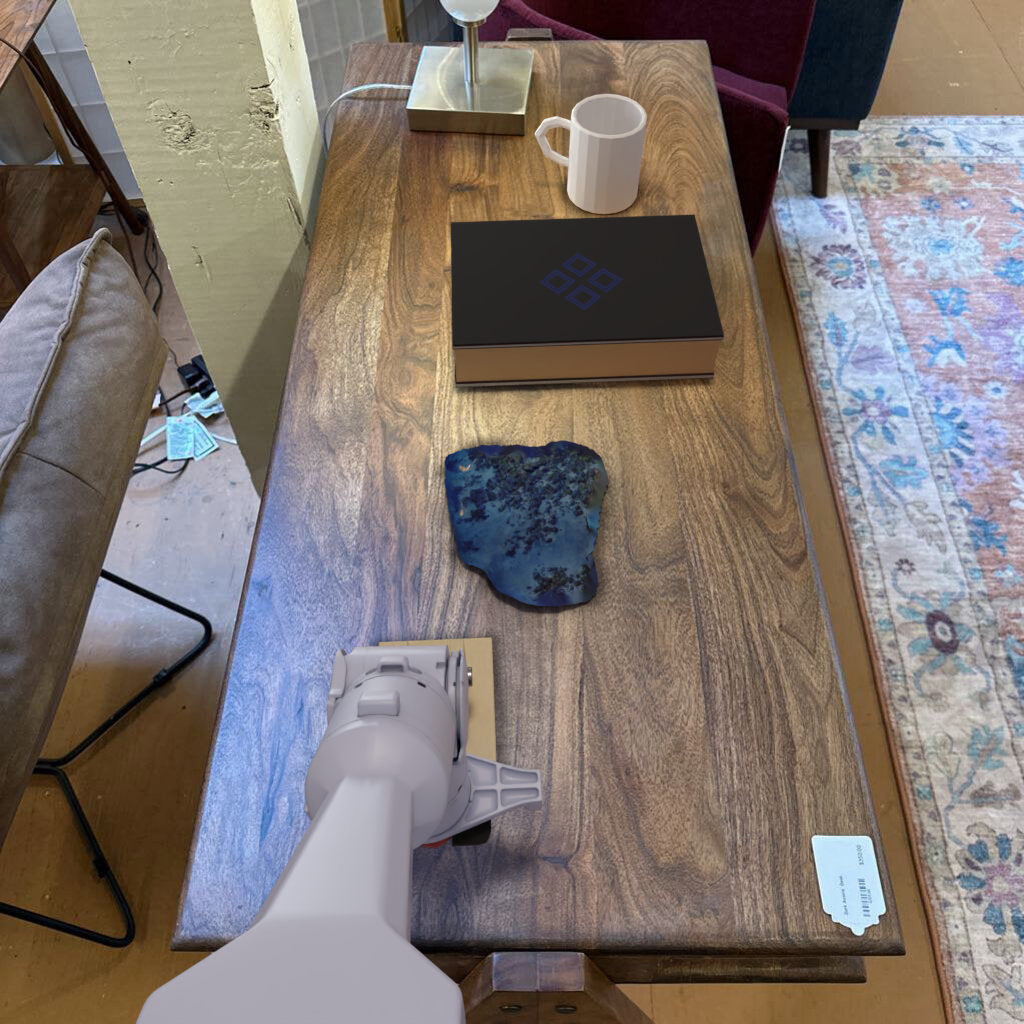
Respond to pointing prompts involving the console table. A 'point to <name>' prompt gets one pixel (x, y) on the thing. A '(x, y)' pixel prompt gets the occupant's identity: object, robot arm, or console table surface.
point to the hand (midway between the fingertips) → (434, 831)
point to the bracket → (473, 690)
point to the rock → (529, 517)
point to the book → (581, 301)
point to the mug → (601, 151)
